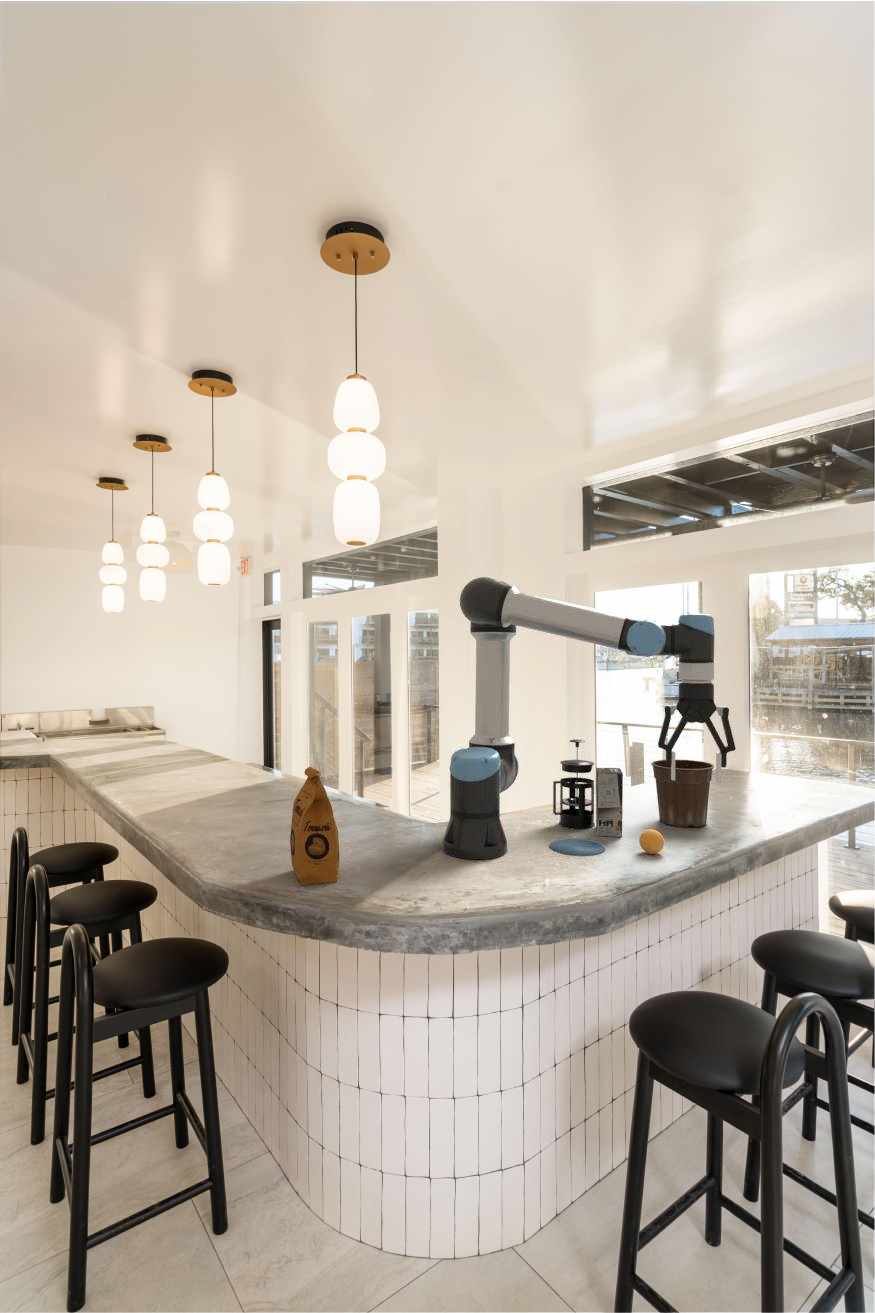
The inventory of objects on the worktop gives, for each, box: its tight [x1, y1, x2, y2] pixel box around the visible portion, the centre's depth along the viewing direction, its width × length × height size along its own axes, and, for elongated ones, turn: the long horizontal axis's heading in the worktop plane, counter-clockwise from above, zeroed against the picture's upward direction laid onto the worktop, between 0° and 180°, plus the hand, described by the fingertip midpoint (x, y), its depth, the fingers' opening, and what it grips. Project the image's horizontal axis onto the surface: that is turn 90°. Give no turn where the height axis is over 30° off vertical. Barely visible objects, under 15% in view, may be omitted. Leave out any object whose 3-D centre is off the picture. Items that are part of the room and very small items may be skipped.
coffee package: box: [289, 766, 340, 886], centre depth 139 cm, size 10×12×22 cm
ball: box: [639, 828, 665, 855], centre depth 155 cm, size 6×6×6 cm
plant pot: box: [650, 759, 715, 828], centre depth 183 cm, size 16×16×16 cm
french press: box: [552, 738, 596, 830], centre depth 180 cm, size 12×9×23 cm
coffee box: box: [595, 767, 624, 838], centre depth 173 cm, size 9×6×16 cm
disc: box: [549, 838, 606, 857], centre depth 159 cm, size 13×13×1 cm
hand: (695, 780), depth 152 cm, fingers open, 9 cm apart
